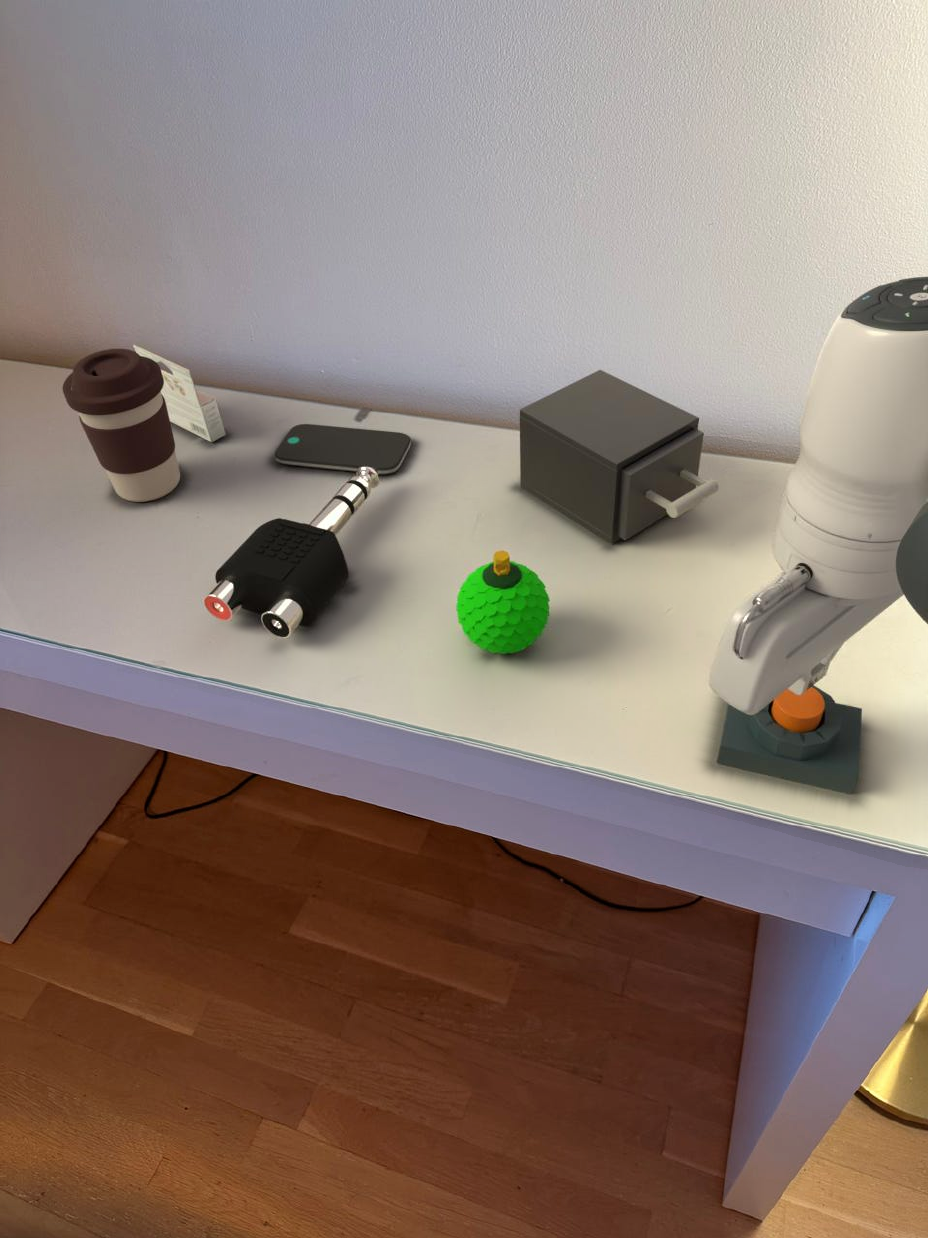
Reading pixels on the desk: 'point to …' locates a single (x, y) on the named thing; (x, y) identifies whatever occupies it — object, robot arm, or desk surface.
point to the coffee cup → (126, 421)
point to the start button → (798, 710)
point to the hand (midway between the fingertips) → (802, 681)
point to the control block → (796, 746)
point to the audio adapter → (290, 564)
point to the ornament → (503, 605)
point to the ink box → (187, 401)
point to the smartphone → (343, 448)
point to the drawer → (662, 484)
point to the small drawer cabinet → (592, 445)
